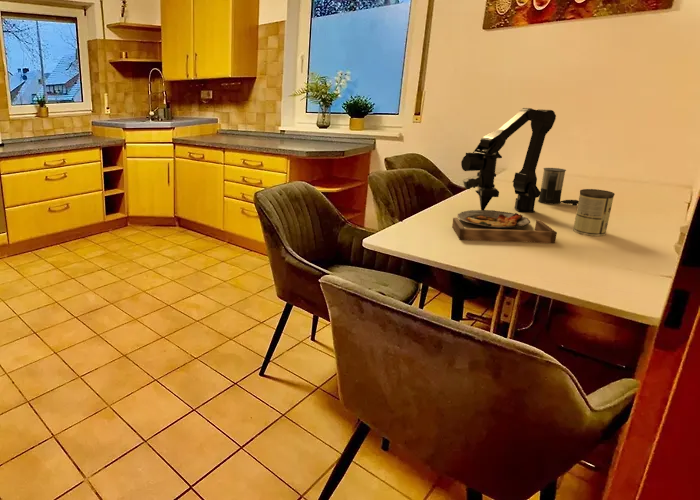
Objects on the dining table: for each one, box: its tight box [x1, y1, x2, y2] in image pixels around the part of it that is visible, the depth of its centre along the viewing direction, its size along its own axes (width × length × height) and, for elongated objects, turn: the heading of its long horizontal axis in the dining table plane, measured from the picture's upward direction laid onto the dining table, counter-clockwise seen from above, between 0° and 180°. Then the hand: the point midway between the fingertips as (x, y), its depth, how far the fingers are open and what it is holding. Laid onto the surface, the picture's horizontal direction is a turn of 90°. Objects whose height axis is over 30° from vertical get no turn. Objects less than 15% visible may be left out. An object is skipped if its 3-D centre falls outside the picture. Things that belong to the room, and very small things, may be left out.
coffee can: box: [572, 188, 615, 237], centre depth 152 cm, size 10×10×14 cm
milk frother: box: [537, 167, 579, 207], centre depth 193 cm, size 14×16×15 cm
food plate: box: [456, 209, 531, 229], centre depth 162 cm, size 25×23×4 cm
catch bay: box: [451, 217, 558, 244], centre depth 148 cm, size 30×14×4 cm, turn 87°
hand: (482, 210), depth 174 cm, fingers closed
